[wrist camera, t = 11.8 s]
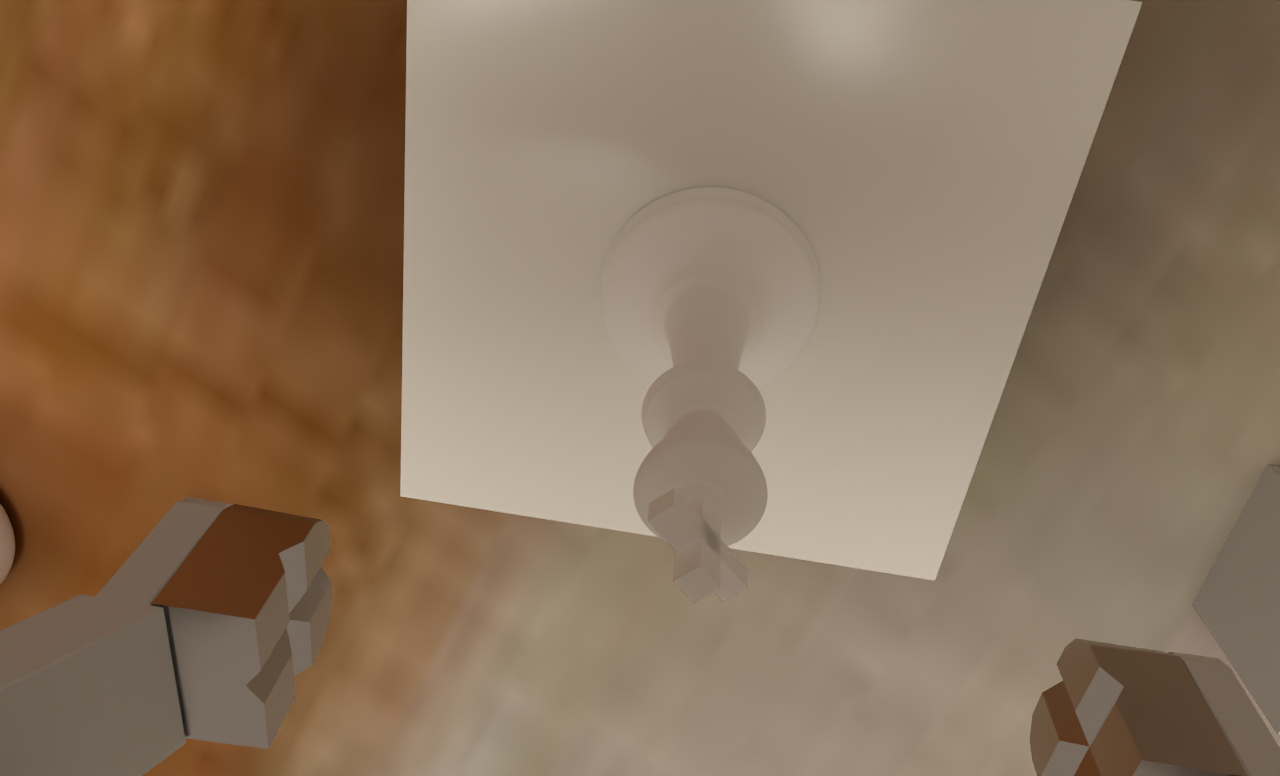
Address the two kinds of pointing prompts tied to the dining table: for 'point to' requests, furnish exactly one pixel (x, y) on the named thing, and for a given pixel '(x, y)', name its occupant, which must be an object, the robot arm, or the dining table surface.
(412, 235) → the ceramic tile
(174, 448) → the dining table surface
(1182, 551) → the dining table surface
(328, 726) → the dining table surface
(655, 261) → the chess piece
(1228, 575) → the grey block
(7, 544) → the drinking glass
